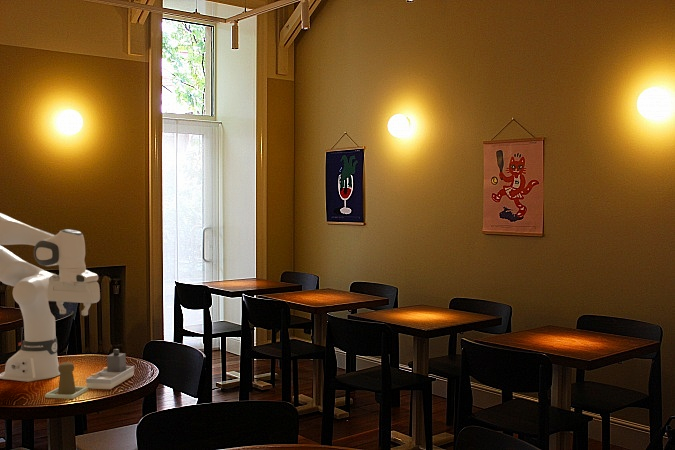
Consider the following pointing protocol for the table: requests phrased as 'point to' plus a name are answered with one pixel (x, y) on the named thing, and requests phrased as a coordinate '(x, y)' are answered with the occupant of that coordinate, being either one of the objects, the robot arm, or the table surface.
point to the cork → (66, 379)
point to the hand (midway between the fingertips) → (73, 314)
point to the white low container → (108, 378)
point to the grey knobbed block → (116, 362)
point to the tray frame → (53, 395)
